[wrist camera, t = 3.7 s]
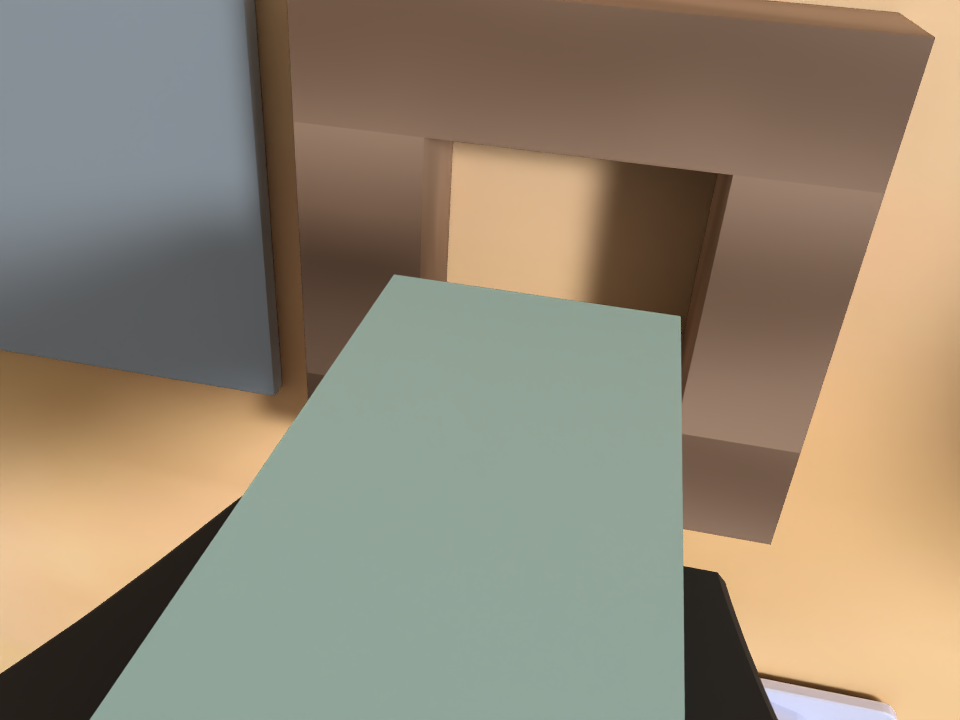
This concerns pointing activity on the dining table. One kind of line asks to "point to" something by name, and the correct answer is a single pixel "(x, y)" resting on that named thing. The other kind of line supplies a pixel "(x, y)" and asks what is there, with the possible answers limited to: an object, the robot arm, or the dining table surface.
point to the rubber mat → (137, 190)
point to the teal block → (449, 530)
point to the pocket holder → (627, 138)
